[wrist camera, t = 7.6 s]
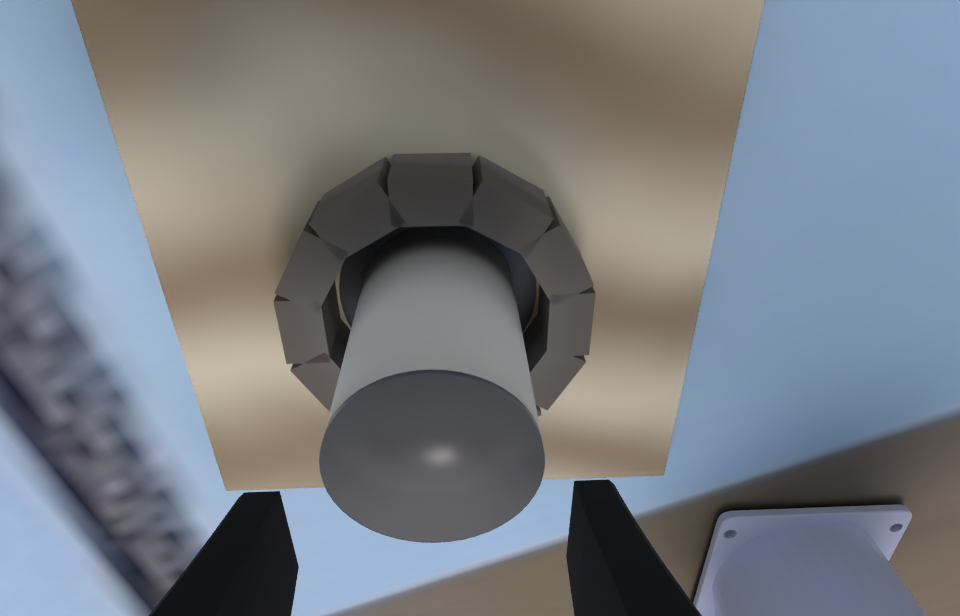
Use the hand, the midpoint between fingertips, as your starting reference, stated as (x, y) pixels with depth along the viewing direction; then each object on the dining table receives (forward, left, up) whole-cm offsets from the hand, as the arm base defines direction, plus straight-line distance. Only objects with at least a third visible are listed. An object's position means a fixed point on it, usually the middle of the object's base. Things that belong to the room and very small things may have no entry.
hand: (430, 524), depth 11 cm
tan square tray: (0, 0, -9) cm, 9 cm away
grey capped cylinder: (0, 0, -8) cm, 8 cm away
